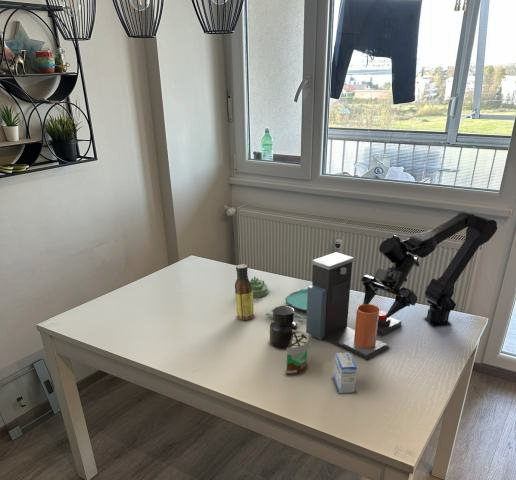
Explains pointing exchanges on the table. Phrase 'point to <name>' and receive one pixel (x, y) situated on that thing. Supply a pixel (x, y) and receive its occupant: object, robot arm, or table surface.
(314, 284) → the coffee maker
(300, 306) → the cutlery set
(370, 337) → the cup
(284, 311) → the ink bottle
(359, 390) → the table surface
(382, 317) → the button
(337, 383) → the medicine box
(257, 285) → the decorative artifact
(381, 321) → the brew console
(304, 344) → the food container
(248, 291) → the sauce bottle
